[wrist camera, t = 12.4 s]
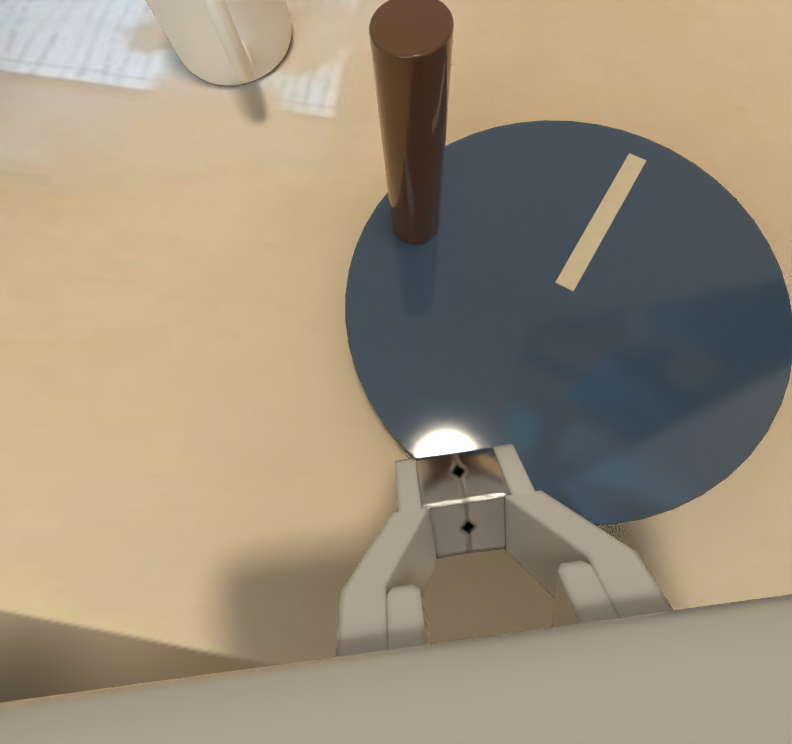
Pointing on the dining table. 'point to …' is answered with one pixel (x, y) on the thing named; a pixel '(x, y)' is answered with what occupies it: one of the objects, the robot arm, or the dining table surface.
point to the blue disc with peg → (559, 296)
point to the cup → (226, 36)
